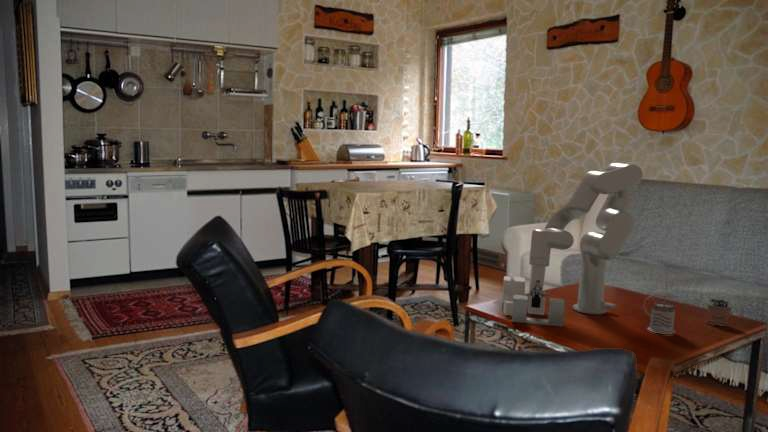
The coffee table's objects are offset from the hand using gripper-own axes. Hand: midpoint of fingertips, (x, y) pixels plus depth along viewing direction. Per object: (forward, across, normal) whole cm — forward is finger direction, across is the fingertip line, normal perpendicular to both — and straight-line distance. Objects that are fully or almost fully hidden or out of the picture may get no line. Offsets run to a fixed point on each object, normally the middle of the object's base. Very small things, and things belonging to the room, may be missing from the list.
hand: (535, 304), depth 249 cm
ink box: (+4, -5, -8) cm, 10 cm away
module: (+3, 0, +1) cm, 3 cm away
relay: (+4, +6, -9) cm, 12 cm away
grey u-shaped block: (+3, +14, +1) cm, 15 cm away
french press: (+3, +9, +44) cm, 45 cm away
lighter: (+2, -7, +68) cm, 68 cm away
